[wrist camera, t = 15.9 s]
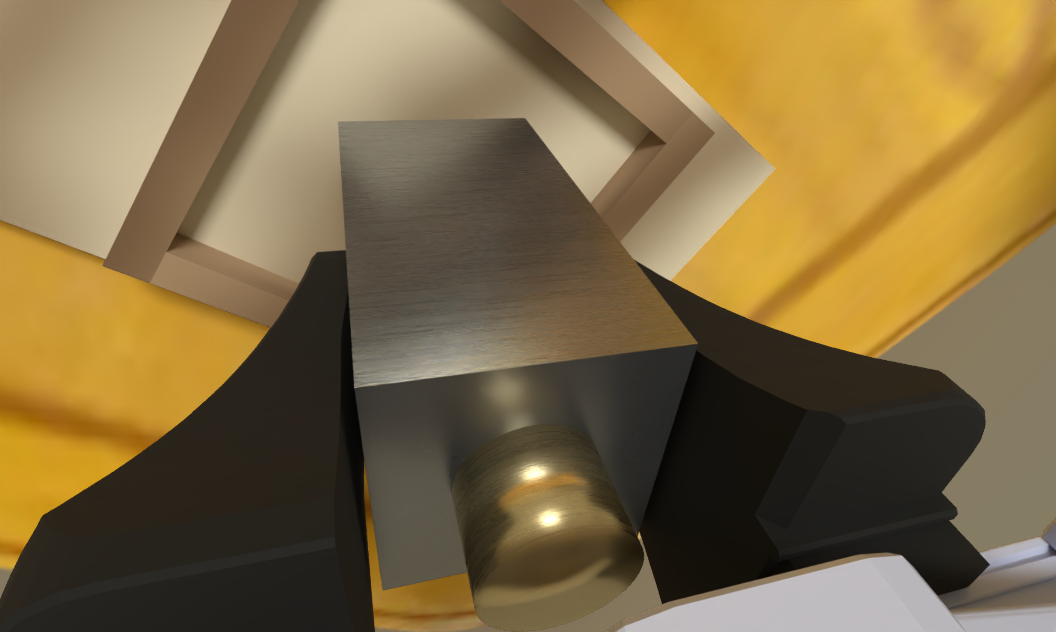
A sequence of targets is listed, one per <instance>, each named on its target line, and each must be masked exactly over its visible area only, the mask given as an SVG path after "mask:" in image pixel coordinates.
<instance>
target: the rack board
mask: <svg viewBox="0 0 1056 632" xmlns="http://www.w3.org/2000/svg"><path fill="white" fill-rule="evenodd" d="M499 118H525V119H526V120H527V121H528V122H529V124H530V125H531V126H532V128H533V129H534V130H535V132H536V133H537V134H538V135H539V137H540V138H541V139H542V141H543V142H544V143H545V145H546V146H547V147H548V148H549V150H550V151H551V152H552V154H553V155H554V156H555V158H556V159H557V160H558V162H559V163H560V164H561V165H562V167H563V168H564V169H565V171H566V172H567V173H568V175H569V176H570V177H571V178H572V180H573V181H574V182H575V184H576V185H577V186H578V188H579V189H580V190H581V192H582V193H583V194H584V195H585V197H586V198H587V199H588V201H589V202H590V203H591V205H592V206H593V207H594V208H595V210H596V211H597V212H598V214H599V215H600V216H601V218H602V219H603V220H604V222H605V223H606V224H607V225H608V227H609V228H610V229H611V231H612V232H613V233H614V235H615V236H616V237H617V238H618V240H619V241H620V242H621V244H622V245H623V246H624V248H625V249H626V250H627V251H628V253H629V254H630V255H631V257H632V258H633V259H634V260H636V261H637V262H639V263H641V264H642V265H644V266H646V267H647V268H649V269H651V270H652V271H654V272H656V273H657V274H659V275H661V276H662V277H664V278H666V279H668V280H669V281H670V280H671V279H672V278H673V277H674V276H675V275H676V274H677V273H678V272H679V271H680V270H681V269H682V268H683V267H684V266H685V264H686V263H687V262H688V261H689V260H690V259H691V258H692V257H693V256H694V255H695V254H696V253H697V252H698V251H699V250H700V249H701V247H702V246H703V245H704V244H705V243H706V242H707V241H708V240H709V239H710V238H711V237H712V236H713V235H714V234H715V233H716V232H717V230H718V229H719V228H720V227H721V226H722V225H723V224H724V223H725V222H726V221H727V220H728V219H729V218H730V217H731V216H732V215H733V213H734V212H735V211H736V210H737V209H738V208H739V207H740V206H741V205H742V204H743V203H744V202H745V201H746V200H747V199H748V198H749V196H750V195H751V194H752V193H753V192H754V191H755V190H756V189H757V188H758V187H759V186H760V185H761V184H762V183H763V182H764V180H765V179H766V178H767V177H768V176H769V175H770V174H771V173H772V172H773V171H774V170H775V168H774V167H773V166H772V165H771V164H770V163H769V162H768V161H767V160H766V159H765V158H764V157H763V156H761V155H760V154H759V153H758V152H757V151H756V150H755V149H754V148H753V147H752V146H751V145H750V144H749V143H748V142H747V141H746V140H745V139H744V138H743V137H742V136H741V135H740V134H739V133H738V132H737V131H736V130H735V129H734V128H733V127H732V126H731V125H730V124H729V123H728V122H727V121H726V120H725V119H723V118H722V117H721V116H720V115H719V114H718V113H717V112H716V111H715V110H714V109H713V108H712V107H711V106H710V105H709V104H708V103H707V102H706V101H705V100H704V99H703V98H702V97H701V96H700V95H699V94H698V93H697V92H696V91H695V90H694V89H693V88H692V87H691V86H690V85H689V84H688V83H687V82H686V81H684V80H683V79H682V78H681V77H680V76H679V75H678V74H677V73H676V72H675V71H674V70H673V69H672V68H671V67H670V66H669V65H668V64H667V63H666V62H665V61H664V60H663V59H662V58H661V57H660V56H659V55H658V54H657V53H656V52H655V51H654V50H653V49H652V48H651V47H650V46H649V45H648V44H646V43H645V42H644V41H643V40H642V39H641V38H640V37H639V36H638V35H637V34H636V33H635V32H634V31H633V30H632V29H631V28H630V27H629V26H628V25H627V24H626V23H625V22H624V21H623V20H622V19H621V18H620V17H619V16H618V15H617V14H616V13H615V12H614V11H613V10H612V9H611V8H610V7H608V6H607V5H606V4H605V3H604V2H603V1H602V0H0V220H1V221H4V222H7V223H9V224H12V225H15V226H18V227H20V228H23V229H26V230H28V231H31V232H34V233H36V234H39V235H42V236H44V237H47V238H50V239H52V240H55V241H58V242H61V243H63V244H66V245H69V246H71V247H74V248H77V249H79V250H82V251H85V252H87V253H90V254H93V255H95V256H98V257H101V258H104V259H106V260H105V262H104V264H103V266H104V267H107V268H109V269H112V270H115V271H118V272H120V273H123V274H126V275H128V276H131V277H134V278H137V279H139V280H142V281H145V282H148V283H150V284H153V285H156V286H159V287H161V288H164V289H167V290H170V291H172V292H175V293H178V294H180V295H183V296H186V297H189V298H191V299H194V300H197V301H200V302H202V303H205V304H208V305H211V306H213V307H216V308H219V309H221V310H224V311H227V312H230V313H232V314H235V315H238V316H241V317H243V318H246V319H249V320H252V321H254V322H257V323H260V324H262V325H265V326H268V327H272V325H273V324H274V323H275V321H276V320H277V319H278V317H279V316H280V314H281V313H282V311H283V309H284V308H285V306H286V305H287V303H288V301H289V300H290V298H291V297H292V295H293V294H294V292H295V290H296V288H297V287H298V285H299V283H300V281H301V279H302V277H303V276H304V274H305V272H306V270H307V267H308V265H309V263H310V261H311V258H312V257H313V256H314V255H315V254H316V253H317V252H325V251H338V250H346V244H345V228H344V212H343V196H342V180H341V164H340V149H339V133H338V122H341V121H394V120H446V119H499Z"/></svg>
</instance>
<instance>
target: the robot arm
mask: <svg viewBox="0 0 1056 632" xmlns="http://www.w3.org/2000/svg"><path fill="white" fill-rule="evenodd" d="M634 261H635V262H636V263H637V265H638V266H639V267H640V268H641V270H642V271H643V272H644V274H645V275H646V276H647V278H648V279H649V280H650V281H651V283H652V284H653V285H654V287H655V288H656V289H657V291H658V292H659V293H660V295H661V296H662V297H663V298H664V300H665V301H666V302H667V304H668V305H669V306H670V308H671V309H672V310H673V311H674V313H675V314H676V315H677V317H678V318H679V319H680V321H681V322H682V323H683V325H684V326H685V327H686V328H687V330H688V331H689V332H690V334H691V335H692V336H693V338H694V339H695V340H696V341H697V343H698V346H697V349H696V352H695V356H694V359H693V362H692V365H691V368H690V371H689V375H688V378H687V381H686V384H685V387H684V390H683V394H682V397H681V400H680V403H679V406H678V409H677V413H676V416H675V419H674V422H673V425H672V428H671V432H670V435H669V438H668V441H667V444H666V447H665V451H664V454H663V457H662V460H661V463H660V466H659V470H658V473H657V476H656V479H655V482H654V485H653V489H652V492H651V495H650V498H649V501H648V504H647V508H646V511H645V514H644V517H643V520H642V523H641V527H640V530H639V532H640V535H641V537H642V540H643V544H644V547H645V550H646V553H647V556H648V560H649V563H650V566H651V569H652V572H653V575H654V578H655V582H656V585H657V588H658V591H659V595H660V599H661V602H662V605H660V606H657V607H654V608H652V609H649V610H646V611H644V612H641V613H638V614H636V615H633V616H630V617H628V618H625V619H623V620H621V621H620V622H618V623H617V624H615V625H614V626H612V627H611V628H609V629H608V630H606V631H605V632H1056V518H1055V519H1054V520H1053V521H1052V522H1051V523H1050V524H1049V525H1048V526H1047V527H1046V529H1045V530H1044V531H1043V535H1042V536H1038V537H1034V538H1031V539H1027V540H1023V541H1020V542H1016V543H1012V544H1009V545H1005V546H1001V547H997V548H993V549H989V550H985V551H982V552H978V551H977V550H976V549H975V548H974V547H973V546H972V544H971V543H970V542H969V541H968V540H967V539H966V538H965V537H964V536H963V535H962V534H961V533H960V532H959V531H958V530H957V528H956V527H955V526H954V525H953V524H952V523H951V522H950V521H949V520H952V519H954V518H955V517H956V516H957V514H958V513H957V508H956V507H955V506H954V505H953V504H952V503H951V502H950V501H949V500H948V499H947V498H946V497H945V496H944V495H943V494H942V491H943V490H944V489H945V487H946V486H947V485H948V483H949V482H950V481H951V480H952V478H953V477H954V476H955V474H956V473H957V472H958V471H959V469H960V468H961V467H962V466H963V464H964V463H965V462H966V461H967V459H968V458H969V456H970V455H971V454H972V453H973V451H974V450H975V448H976V446H977V445H978V443H979V442H980V440H981V438H982V435H983V432H984V429H985V411H984V409H983V408H982V407H981V406H980V404H979V403H978V402H977V401H976V400H974V399H973V398H972V397H971V396H970V395H968V394H967V393H966V392H965V391H964V390H963V389H961V388H960V387H959V386H958V385H957V384H955V383H954V382H953V381H952V380H951V379H949V378H948V377H947V376H946V375H945V374H943V373H942V372H940V371H937V370H933V369H927V368H922V367H917V366H912V365H907V364H902V363H897V362H892V361H887V360H882V359H877V358H872V357H868V356H864V355H860V354H856V353H852V352H848V351H845V350H841V349H837V348H833V347H829V346H826V345H822V344H819V343H816V342H812V341H809V340H806V339H802V338H800V337H797V336H794V335H791V334H788V333H785V332H782V331H779V330H776V329H773V328H770V327H768V326H765V325H762V324H760V323H757V322H755V321H752V320H750V319H747V318H745V317H743V316H740V315H738V314H736V313H733V312H731V311H729V310H726V309H724V308H722V307H720V306H717V305H715V304H713V303H711V302H709V301H707V300H705V299H703V298H701V297H699V296H697V295H695V294H694V293H692V292H690V291H688V290H686V289H684V288H682V287H680V286H678V285H677V284H675V283H673V282H671V281H669V280H668V279H666V278H664V277H662V276H661V275H659V274H657V273H656V272H654V271H652V270H651V269H649V268H647V267H646V266H644V265H642V264H641V263H639V262H637V261H636V260H634ZM0 632H375V627H374V615H373V603H372V591H371V579H370V566H369V554H368V541H367V529H366V516H365V503H364V452H363V445H362V438H361V431H360V424H359V417H358V409H357V402H356V395H355V388H354V372H353V356H352V340H351V324H350V308H349V292H348V276H347V260H346V250H338V251H325V252H317V253H316V254H315V255H314V256H313V257H312V258H311V261H310V263H309V265H308V267H307V270H306V272H305V274H304V276H303V277H302V279H301V281H300V283H299V285H298V287H297V288H296V290H295V292H294V294H293V295H292V297H291V298H290V300H289V301H288V303H287V305H286V306H285V308H284V309H283V311H282V313H281V314H280V316H279V317H278V319H277V320H276V321H275V323H274V324H273V325H272V327H271V328H270V329H269V331H268V332H267V333H266V335H265V336H264V337H263V339H262V340H261V341H260V343H259V344H258V345H257V347H256V348H255V349H254V350H253V352H252V353H251V354H250V355H249V356H248V358H247V359H246V360H245V361H244V362H243V363H242V364H241V366H240V367H239V368H238V369H237V370H236V371H235V372H234V373H233V374H232V375H231V376H230V377H229V378H228V380H227V381H226V382H225V383H224V384H223V385H222V386H221V387H220V388H219V389H218V390H216V391H215V392H214V393H213V394H212V395H211V396H210V397H209V398H208V399H207V400H206V401H205V402H203V403H202V404H201V405H200V406H199V407H198V408H197V409H196V410H194V411H193V412H192V413H191V414H190V415H189V416H188V417H187V418H185V419H184V420H183V421H182V422H181V423H179V424H178V425H177V426H175V427H174V428H173V429H172V430H170V431H169V432H168V433H166V434H165V435H164V436H163V437H161V438H160V439H159V440H157V441H156V442H155V443H153V444H152V445H151V446H149V447H148V448H146V449H145V450H144V451H142V452H141V453H140V454H138V455H137V456H135V457H134V458H133V459H131V460H130V461H128V462H127V463H125V464H124V465H122V466H121V467H120V468H118V469H117V470H115V471H114V472H112V473H110V474H109V475H107V476H106V477H104V478H102V479H101V480H99V481H98V482H96V483H95V484H93V485H91V486H90V487H88V488H87V489H85V490H83V491H82V492H80V493H79V494H77V495H75V496H74V497H72V498H71V499H69V500H68V501H66V502H64V503H63V504H61V505H60V506H58V507H56V508H54V509H53V510H51V511H49V512H48V513H46V514H44V515H43V516H42V517H41V519H40V521H39V523H38V525H37V527H36V529H35V530H34V532H33V534H32V536H31V537H30V539H29V541H28V542H27V544H26V546H25V547H24V549H23V551H22V553H21V555H20V557H19V559H18V561H17V563H16V565H15V567H14V569H13V571H12V573H11V575H10V577H9V580H8V582H7V584H6V587H5V589H4V591H3V594H2V596H1V598H0Z"/></svg>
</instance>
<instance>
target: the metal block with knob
mask: <svg viewBox="0 0 1056 632" xmlns="http://www.w3.org/2000/svg"><path fill="white" fill-rule="evenodd" d="M338 133H339V149H340V164H341V180H342V196H343V212H344V228H345V244H346V260H347V276H348V292H349V308H350V324H351V340H352V356H353V372H354V388H355V395H356V402H357V409H358V417H359V424H360V431H361V438H362V445H363V452H364V460H365V467H366V474H367V481H368V488H369V495H370V503H371V510H372V517H373V524H374V531H375V538H376V545H377V553H378V560H379V567H380V574H381V581H382V588H383V590H387V589H392V588H396V587H401V586H406V585H410V584H415V583H420V582H424V581H429V580H434V579H438V578H443V577H447V576H452V575H457V574H461V573H466V572H467V573H468V578H469V583H470V588H471V593H472V598H473V603H474V607H475V611H476V614H477V616H478V617H479V619H480V620H481V621H482V622H484V623H485V624H487V625H489V626H490V627H493V628H496V629H499V630H504V631H514V632H520V631H521V632H524V631H535V630H542V629H547V628H551V627H555V626H559V625H563V624H565V623H568V622H571V621H574V620H576V619H579V618H581V617H584V616H586V615H588V614H590V613H592V612H594V611H596V610H598V609H599V608H601V607H603V606H605V605H606V604H608V603H609V602H611V601H612V600H613V599H615V598H616V597H617V596H619V595H620V594H621V593H622V592H623V591H624V590H626V589H627V587H628V586H629V585H631V583H632V582H633V581H634V580H635V578H636V577H637V575H638V574H639V572H640V570H641V568H642V565H643V561H644V552H643V548H642V546H641V544H640V541H639V539H638V537H637V536H638V533H639V530H640V527H641V523H642V520H643V517H644V514H645V511H646V508H647V504H648V501H649V498H650V495H651V492H652V489H653V485H654V482H655V479H656V476H657V473H658V470H659V466H660V463H661V460H662V457H663V454H664V451H665V447H666V444H667V441H668V438H669V435H670V432H671V428H672V425H673V422H674V419H675V416H676V413H677V409H678V406H679V403H680V400H681V397H682V394H683V390H684V387H685V384H686V381H687V378H688V375H689V371H690V368H691V365H692V362H693V359H694V356H695V352H696V349H697V346H698V343H697V341H696V340H695V339H694V338H693V336H692V335H691V334H690V332H689V331H688V330H687V328H686V327H685V326H684V325H683V323H682V322H681V321H680V319H679V318H678V317H677V315H676V314H675V313H674V311H673V310H672V309H671V308H670V306H669V305H668V304H667V302H666V301H665V300H664V298H663V297H662V296H661V295H660V293H659V292H658V291H657V289H656V288H655V287H654V285H653V284H652V283H651V281H650V280H649V279H648V278H647V276H646V275H645V274H644V272H643V271H642V270H641V268H640V267H639V266H638V265H637V263H636V262H635V261H634V259H633V258H632V257H631V255H630V254H629V253H628V251H627V250H626V249H625V248H624V246H623V245H622V244H621V242H620V241H619V240H618V238H617V237H616V236H615V235H614V233H613V232H612V231H611V229H610V228H609V227H608V225H607V224H606V223H605V222H604V220H603V219H602V218H601V216H600V215H599V214H598V212H597V211H596V210H595V208H594V207H593V206H592V205H591V203H590V202H589V201H588V199H587V198H586V197H585V195H584V194H583V193H582V192H581V190H580V189H579V188H578V186H577V185H576V184H575V182H574V181H573V180H572V178H571V177H570V176H569V175H568V173H567V172H566V171H565V169H564V168H563V167H562V165H561V164H560V163H559V162H558V160H557V159H556V158H555V156H554V155H553V154H552V152H551V151H550V150H549V148H548V147H547V146H546V145H545V143H544V142H543V141H542V139H541V138H540V137H539V135H538V134H537V133H536V132H535V130H534V129H533V128H532V126H531V125H530V124H529V122H528V121H527V120H526V119H525V118H499V119H446V120H394V121H341V122H338Z"/></svg>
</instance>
